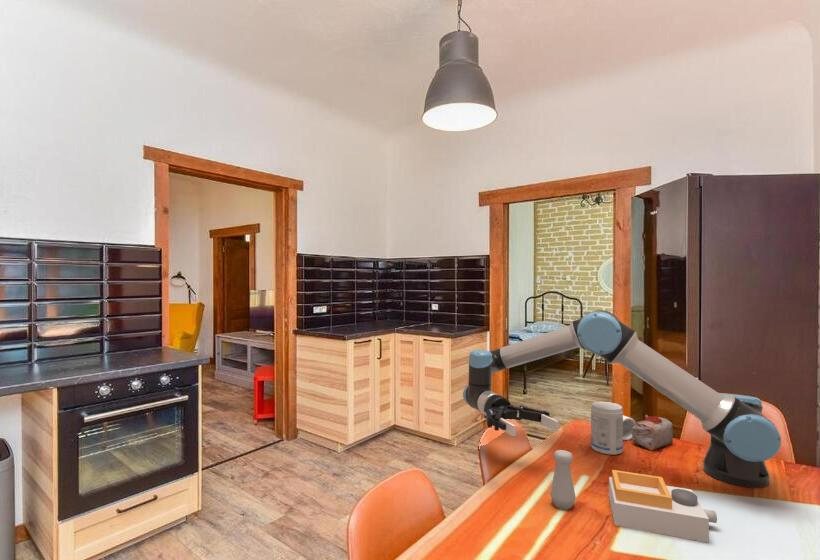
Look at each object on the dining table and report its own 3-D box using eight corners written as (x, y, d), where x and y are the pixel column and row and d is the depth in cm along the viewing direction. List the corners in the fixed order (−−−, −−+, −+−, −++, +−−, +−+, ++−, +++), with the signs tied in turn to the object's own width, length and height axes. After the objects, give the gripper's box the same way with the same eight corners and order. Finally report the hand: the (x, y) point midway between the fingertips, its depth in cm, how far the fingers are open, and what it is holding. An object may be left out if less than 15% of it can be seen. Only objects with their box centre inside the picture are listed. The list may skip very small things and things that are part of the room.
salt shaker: (575, 501, 107) (575, 449, 107) (576, 513, 102) (576, 458, 102) (550, 497, 109) (551, 446, 109) (550, 508, 104) (550, 454, 104)
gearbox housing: (705, 512, 103) (706, 481, 103) (725, 546, 90) (726, 509, 90) (609, 496, 110) (609, 467, 110) (614, 525, 97) (614, 491, 97)
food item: (653, 453, 140) (653, 422, 140) (629, 445, 146) (630, 416, 146) (675, 445, 147) (675, 416, 147) (651, 438, 154) (652, 410, 154)
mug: (614, 430, 161) (614, 408, 161) (636, 439, 152) (636, 416, 152) (588, 433, 157) (588, 411, 157) (609, 443, 148) (609, 419, 148)
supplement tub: (613, 444, 146) (613, 401, 147) (629, 455, 137) (629, 409, 137) (585, 444, 146) (585, 401, 146) (599, 456, 136) (600, 409, 136)
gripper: (528, 415, 139) (573, 438, 119) (458, 421, 131) (495, 447, 111) (528, 391, 139) (574, 411, 119) (458, 396, 131) (495, 418, 111)
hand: (536, 428), depth 115 cm, fingers open, 13 cm apart
